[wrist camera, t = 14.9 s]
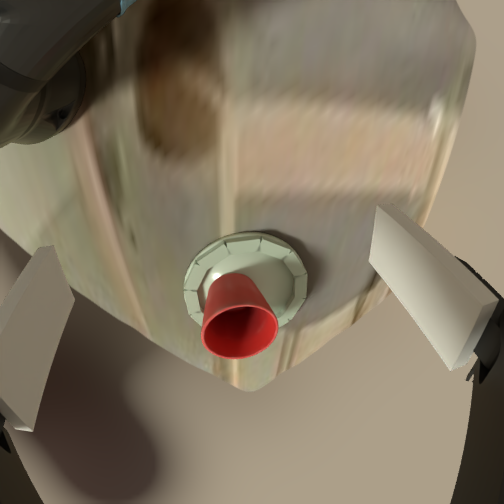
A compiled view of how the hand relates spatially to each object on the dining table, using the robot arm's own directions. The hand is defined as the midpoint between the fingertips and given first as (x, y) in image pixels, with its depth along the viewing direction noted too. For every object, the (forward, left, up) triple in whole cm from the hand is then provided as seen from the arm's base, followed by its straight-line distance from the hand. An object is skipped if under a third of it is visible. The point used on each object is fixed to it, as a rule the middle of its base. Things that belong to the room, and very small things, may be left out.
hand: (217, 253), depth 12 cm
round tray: (+4, -26, -32) cm, 41 cm away
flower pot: (+2, -26, -31) cm, 40 cm away
